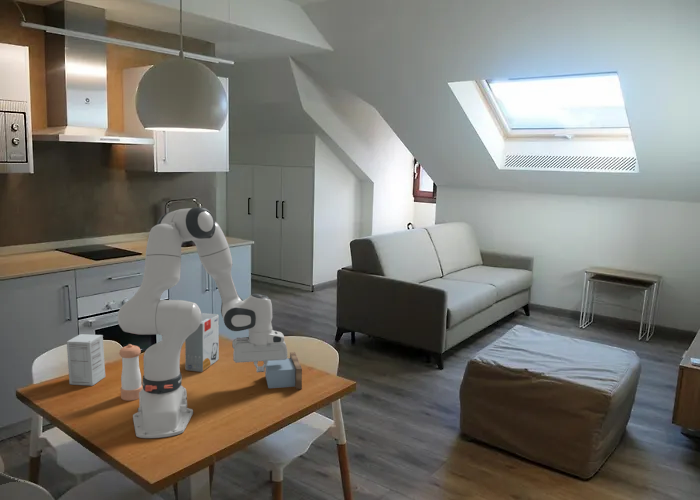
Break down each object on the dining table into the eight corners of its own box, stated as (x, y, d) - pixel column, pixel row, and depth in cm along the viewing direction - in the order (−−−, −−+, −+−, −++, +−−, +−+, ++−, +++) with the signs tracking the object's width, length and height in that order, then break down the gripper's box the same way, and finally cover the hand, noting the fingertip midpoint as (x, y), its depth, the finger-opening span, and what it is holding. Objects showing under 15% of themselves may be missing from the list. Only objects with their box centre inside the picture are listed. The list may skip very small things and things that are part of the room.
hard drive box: (202, 372, 223) (201, 324, 220) (185, 370, 225) (183, 322, 221) (219, 359, 238) (218, 313, 235) (202, 357, 240) (201, 312, 236)
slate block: (295, 386, 212) (295, 369, 210) (268, 388, 209) (268, 371, 208) (290, 375, 223) (290, 358, 222) (265, 376, 221) (265, 359, 220)
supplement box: (106, 376, 217) (104, 334, 214) (93, 386, 208) (90, 342, 205) (82, 375, 218) (80, 333, 215) (68, 384, 209) (65, 341, 206)
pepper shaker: (122, 402, 195) (120, 349, 192) (119, 394, 201) (117, 343, 198) (144, 398, 198) (142, 345, 195) (140, 390, 205) (138, 340, 202)
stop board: (301, 388, 209) (301, 368, 208) (296, 389, 209) (296, 368, 207) (294, 371, 226) (294, 352, 225) (289, 371, 226) (289, 352, 225)
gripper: (232, 340, 206) (232, 376, 208) (288, 337, 211) (288, 372, 213) (231, 335, 212) (232, 370, 214) (286, 332, 217) (286, 367, 219)
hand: (260, 371), depth 213 cm, fingers closed
